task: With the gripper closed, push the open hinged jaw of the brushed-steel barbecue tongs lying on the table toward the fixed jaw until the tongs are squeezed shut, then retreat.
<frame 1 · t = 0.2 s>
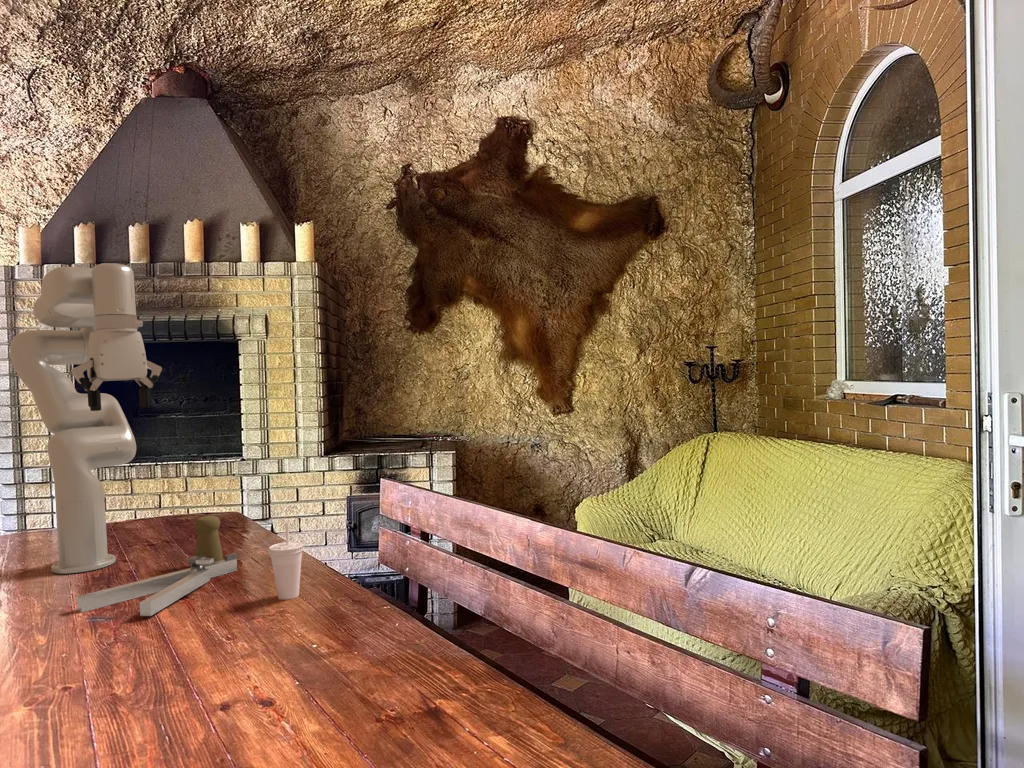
hand: (121, 408, 142), 36 cm above the table, tool pointing down, fingers open, 9 cm apart
tongs fixed: (197, 579, 144), on the table
tongs jaw: (173, 583, 134), point 3 cm above the table, hinge at 35.0°
smoothie: (288, 597, 131), on the table
olive pepper mill: (209, 565, 155), on the table
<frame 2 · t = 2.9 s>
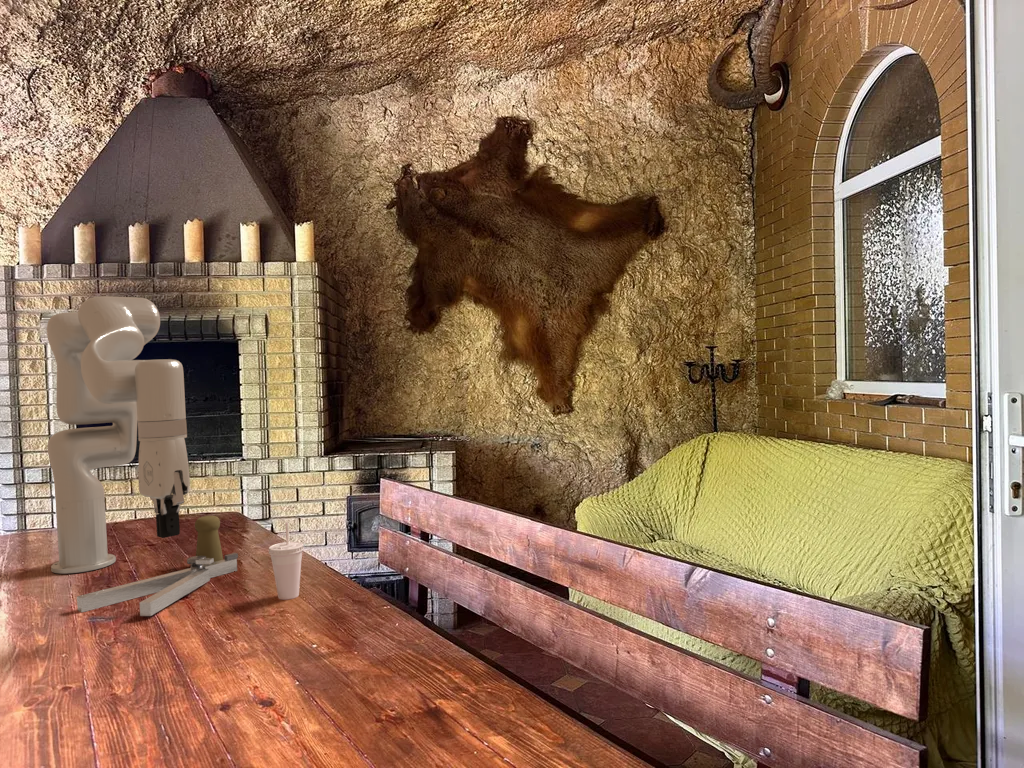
hand: (168, 535, 120), 15 cm above the table, tool pointing down, fingers closed
nothing on the table moved.
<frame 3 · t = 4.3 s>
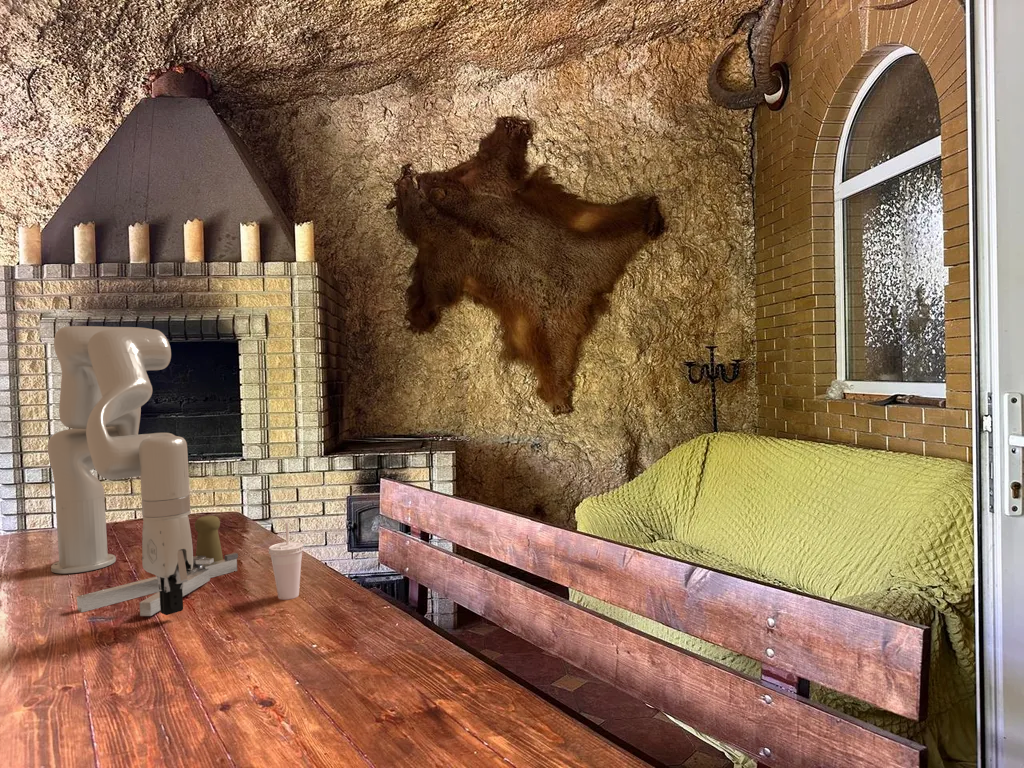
hand: (172, 611, 121), 2 cm above the table, tool pointing down, fingers closed
nothing on the table moved.
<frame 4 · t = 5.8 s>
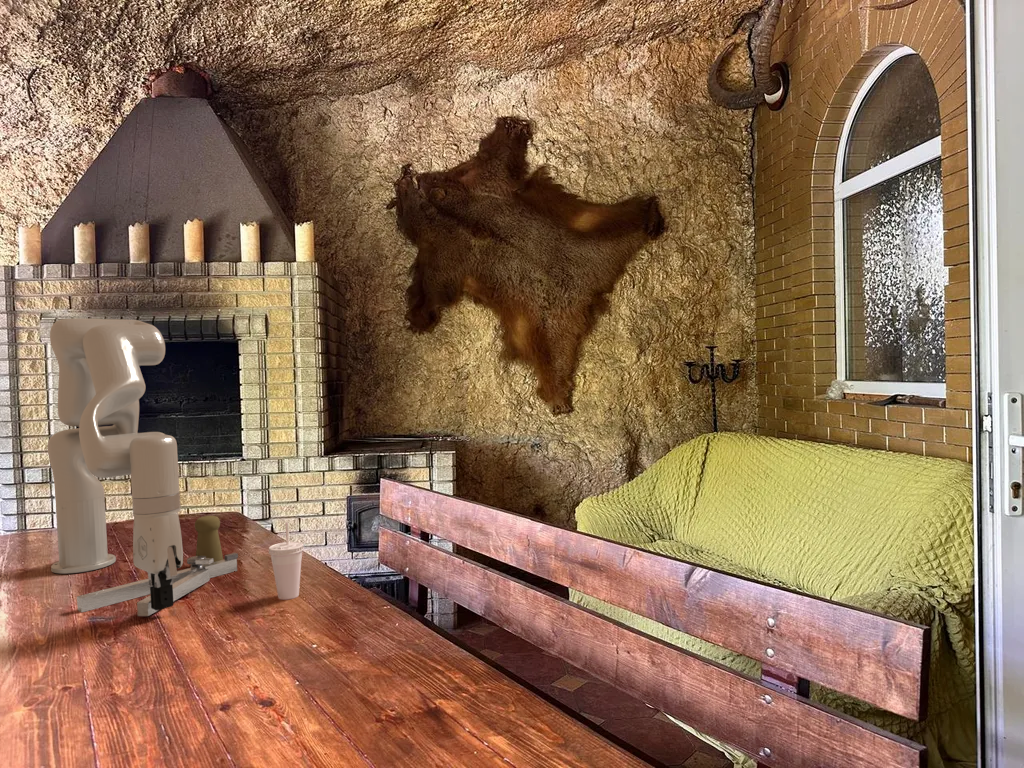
hand: (162, 607, 123), 2 cm above the table, tool pointing down, fingers closed
tongs jaw: (172, 583, 134), point 3 cm above the table, hinge at 33.8°
everything else where it was.
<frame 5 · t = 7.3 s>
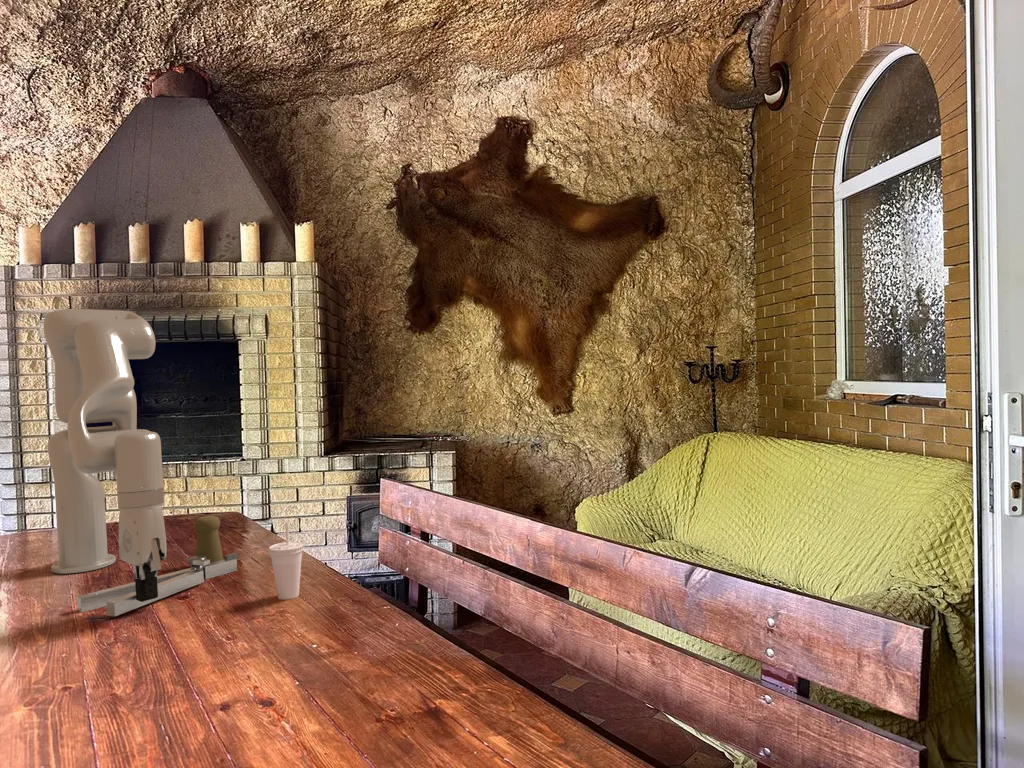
hand: (147, 598, 127), 2 cm above the table, tool pointing down, fingers closed
tongs jaw: (159, 583, 134), point 3 cm above the table, hinge at 17.9°, touching gripper
everything else where it was.
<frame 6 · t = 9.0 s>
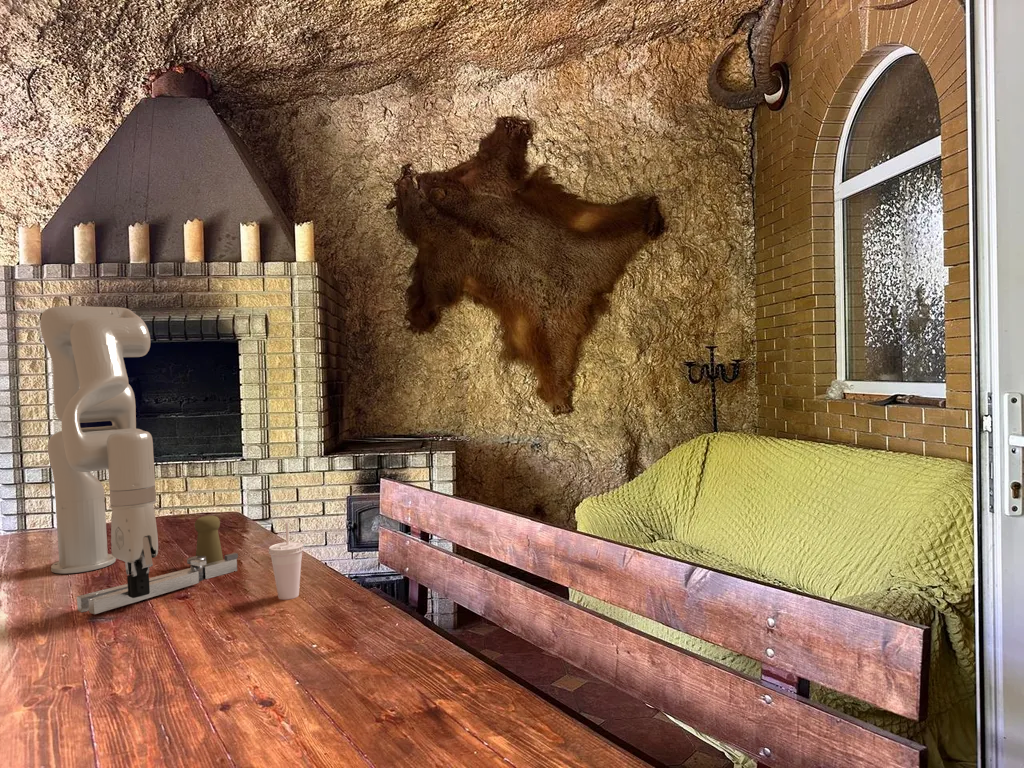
hand: (139, 595, 129), 2 cm above the table, tool pointing down, fingers closed
tongs jaw: (151, 582, 135), point 3 cm above the table, hinge at 5.7°, touching gripper
everything else where it was.
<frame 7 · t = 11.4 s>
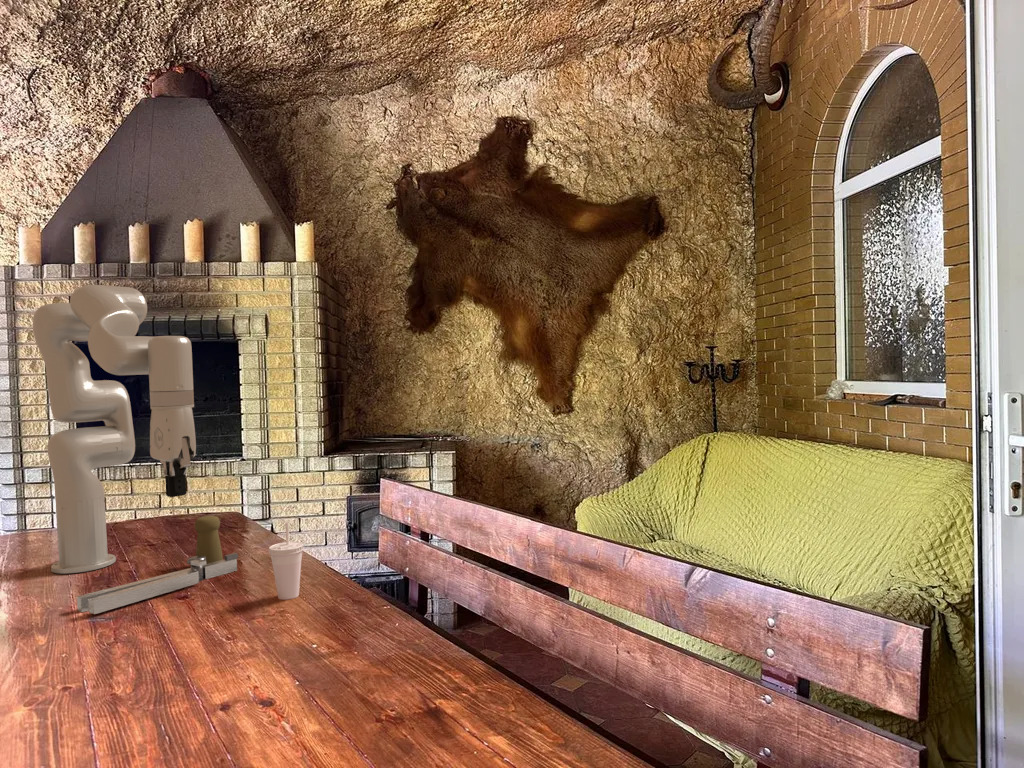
hand: (176, 495, 133), 20 cm above the table, tool pointing down, fingers closed
tongs jaw: (151, 582, 135), point 3 cm above the table, hinge at 5.5°
everything else where it was.
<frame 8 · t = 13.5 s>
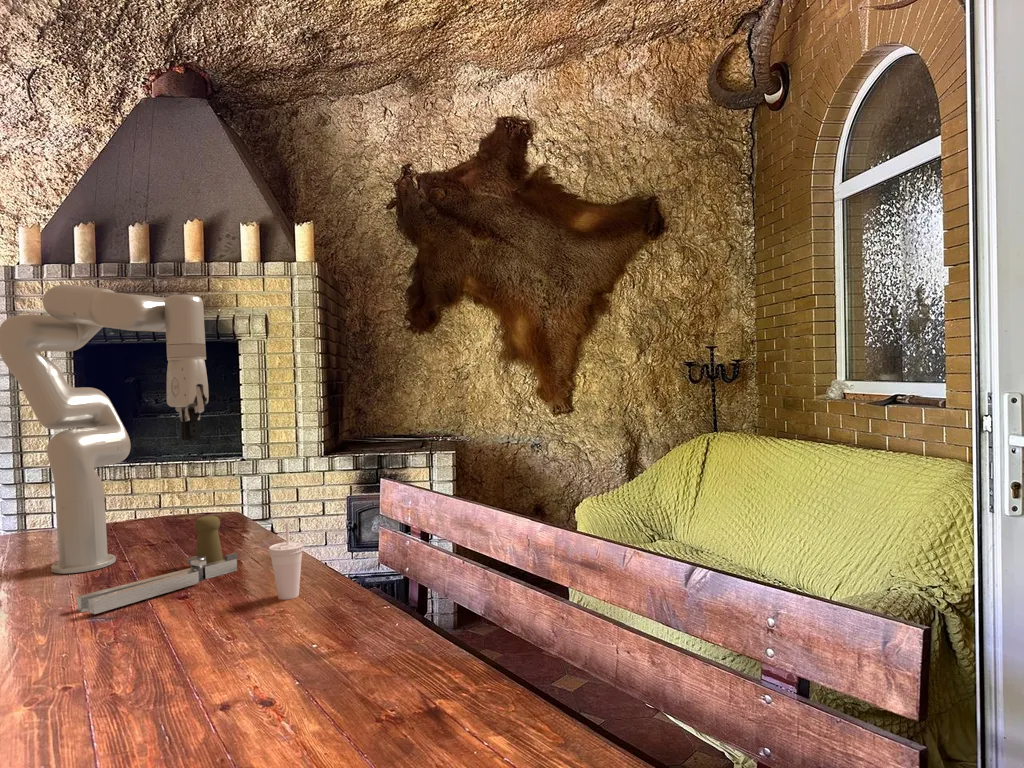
hand: (191, 439, 148), 29 cm above the table, tool pointing down, fingers closed
nothing on the table moved.
at the end: tongs jaw at +6° (first picture: +35°) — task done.
